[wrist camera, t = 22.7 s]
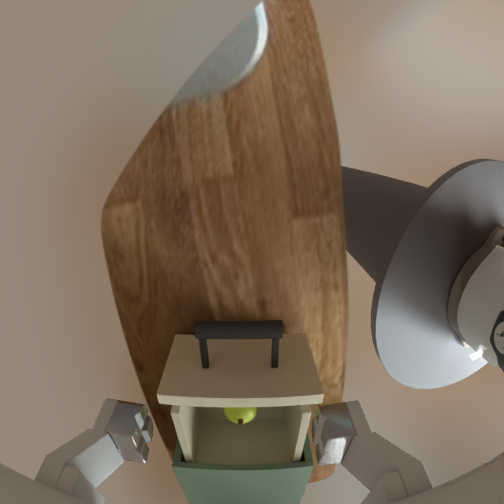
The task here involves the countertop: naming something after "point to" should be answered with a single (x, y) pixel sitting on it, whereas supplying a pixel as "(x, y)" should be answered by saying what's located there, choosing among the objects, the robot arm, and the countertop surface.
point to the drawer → (240, 392)
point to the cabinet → (244, 480)
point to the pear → (240, 414)
